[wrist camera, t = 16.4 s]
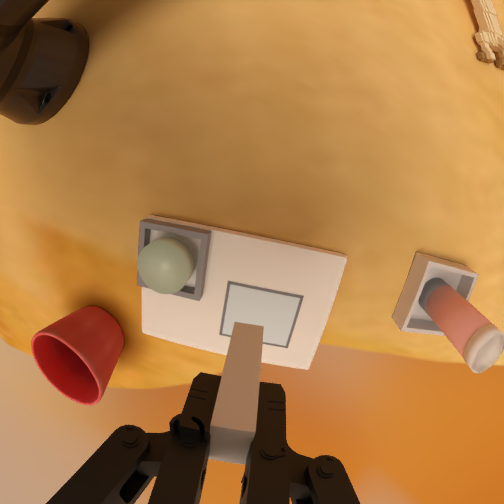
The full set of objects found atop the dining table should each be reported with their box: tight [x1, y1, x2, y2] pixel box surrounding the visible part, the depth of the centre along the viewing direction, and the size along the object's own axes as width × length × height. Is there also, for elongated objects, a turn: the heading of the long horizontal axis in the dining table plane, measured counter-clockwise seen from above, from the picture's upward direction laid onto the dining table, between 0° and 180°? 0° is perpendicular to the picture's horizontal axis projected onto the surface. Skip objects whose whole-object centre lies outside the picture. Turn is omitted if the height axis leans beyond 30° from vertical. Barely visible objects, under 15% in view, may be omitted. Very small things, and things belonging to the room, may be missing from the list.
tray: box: [392, 252, 479, 336], centre depth 26 cm, size 8×8×3 cm
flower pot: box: [31, 306, 124, 405], centre depth 28 cm, size 11×11×10 cm
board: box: [137, 215, 348, 370], centre depth 28 cm, size 14×20×3 cm
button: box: [137, 237, 194, 294], centre depth 25 cm, size 5×5×2 cm
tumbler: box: [418, 278, 504, 373], centre depth 21 cm, size 4×4×12 cm
